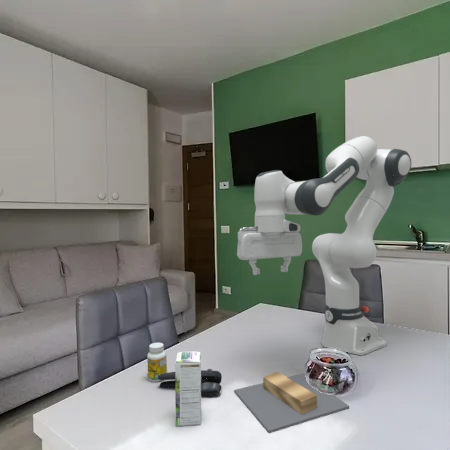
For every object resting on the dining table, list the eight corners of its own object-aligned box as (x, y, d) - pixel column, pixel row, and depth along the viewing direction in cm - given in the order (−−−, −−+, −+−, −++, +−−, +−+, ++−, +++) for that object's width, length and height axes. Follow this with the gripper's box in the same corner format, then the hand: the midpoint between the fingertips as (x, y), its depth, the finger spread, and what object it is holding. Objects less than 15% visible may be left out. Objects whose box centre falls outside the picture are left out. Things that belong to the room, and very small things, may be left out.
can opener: (225, 386, 91) (224, 365, 91) (219, 400, 84) (219, 378, 84) (164, 380, 95) (163, 361, 94) (153, 393, 88) (153, 372, 88)
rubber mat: (303, 374, 96) (303, 373, 96) (349, 408, 79) (349, 406, 79) (234, 391, 87) (234, 389, 87) (268, 433, 71) (268, 430, 71)
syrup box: (177, 411, 79) (175, 351, 79) (201, 410, 80) (200, 350, 79) (175, 427, 73) (173, 362, 73) (202, 425, 74) (201, 361, 73)
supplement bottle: (170, 376, 96) (170, 343, 96) (157, 384, 92) (156, 350, 92) (157, 371, 99) (156, 340, 99) (143, 379, 95) (142, 346, 95)
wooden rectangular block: (317, 407, 79) (317, 395, 79) (301, 414, 76) (301, 401, 76) (277, 382, 91) (277, 371, 91) (263, 388, 88) (263, 377, 88)
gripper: (242, 227, 90) (243, 278, 91) (305, 225, 98) (305, 272, 99) (233, 227, 96) (233, 274, 97) (292, 224, 104) (293, 268, 104)
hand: (270, 273), depth 98 cm, fingers open, 8 cm apart
